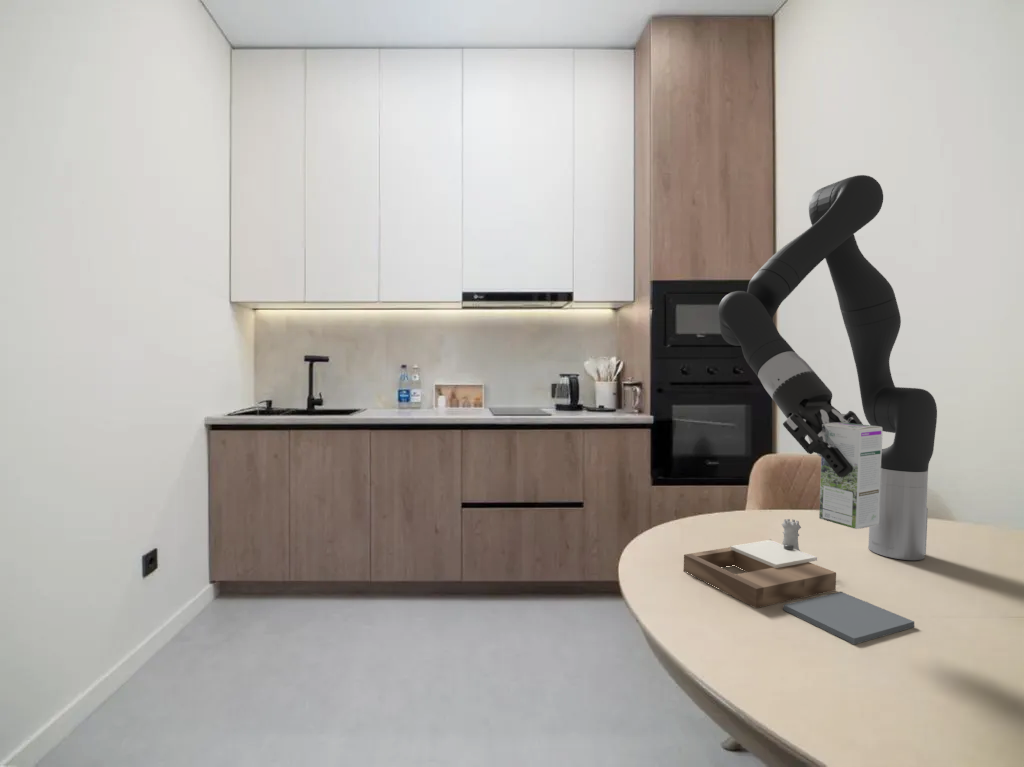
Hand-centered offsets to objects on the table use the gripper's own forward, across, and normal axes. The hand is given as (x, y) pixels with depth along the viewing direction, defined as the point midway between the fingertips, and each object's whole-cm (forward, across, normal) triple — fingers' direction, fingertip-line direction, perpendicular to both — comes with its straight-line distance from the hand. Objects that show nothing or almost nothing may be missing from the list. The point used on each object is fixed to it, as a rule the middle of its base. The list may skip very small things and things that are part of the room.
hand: (862, 472), depth 78 cm
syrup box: (+4, 0, +7) cm, 8 cm away
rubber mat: (+15, 0, +16) cm, 22 cm away
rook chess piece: (+1, +12, +31) cm, 33 cm away
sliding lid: (0, +5, +27) cm, 27 cm away
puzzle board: (+4, -1, +28) cm, 28 cm away
